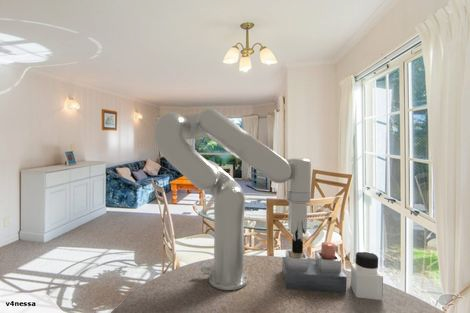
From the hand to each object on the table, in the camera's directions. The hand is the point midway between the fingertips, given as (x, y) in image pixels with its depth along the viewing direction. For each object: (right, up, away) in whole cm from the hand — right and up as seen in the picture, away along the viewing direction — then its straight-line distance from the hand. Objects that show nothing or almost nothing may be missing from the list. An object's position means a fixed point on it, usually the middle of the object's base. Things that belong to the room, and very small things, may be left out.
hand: (297, 252), depth 86 cm
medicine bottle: (+19, -10, -7) cm, 23 cm away
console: (+5, -9, 0) cm, 11 cm away
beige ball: (0, -4, 0) cm, 4 cm away
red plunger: (+10, -1, -1) cm, 10 cm away
